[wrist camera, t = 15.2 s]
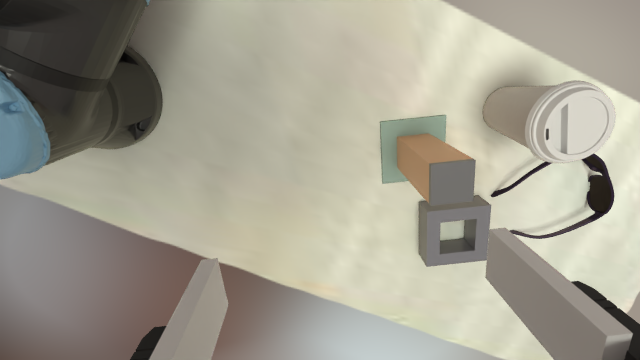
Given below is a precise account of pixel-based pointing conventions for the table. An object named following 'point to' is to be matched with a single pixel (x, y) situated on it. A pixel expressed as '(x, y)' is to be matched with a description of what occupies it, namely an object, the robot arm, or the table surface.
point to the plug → (436, 169)
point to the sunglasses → (597, 196)
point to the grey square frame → (457, 249)
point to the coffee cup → (553, 119)
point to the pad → (405, 128)
